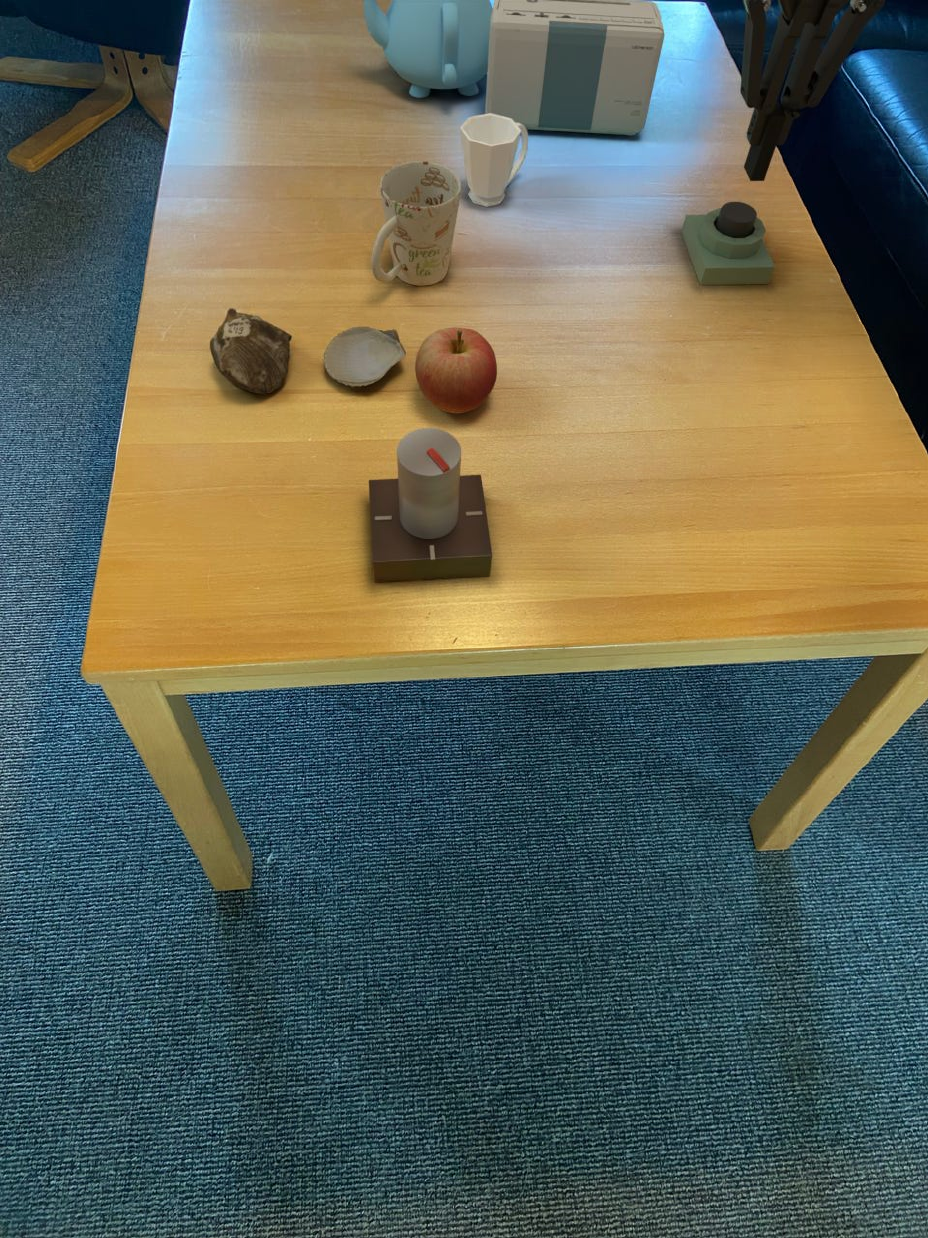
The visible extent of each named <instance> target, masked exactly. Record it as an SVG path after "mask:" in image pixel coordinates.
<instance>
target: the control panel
mask: <svg viewBox="0 0 928 1238" xmlns="http://www.w3.org/2000/svg"><path fill="white" fill-rule="evenodd" d="M368 494H369V496H368V497H369V515H370V516H369V518H370V538H371V557H372V558H371V560H372V571H373V572H372V573H373V581H374V583H389V582H405V581H422V580H423V581H425V580H439V579H441V580H442V579H457V578H459V579H461V578H474V577H489V576H491V571H492V562H493V549H492V541H491V535H490V529H489V528H490V527H489V521H488V514H487V507H486V499H485V492H484V486H483V480H482V475H481V474H467V475H466V474H465V475H460V489H459V508H458V521H457V524H456V526H455V527H454V529H453V530H452V531H451V532H450V533H448V534H447V535H445V536H443V537H440V538H436V539H422V538H418V537H415V536H413V535H411V534H410V533H409V532H407V531H406V530H405V529H404V527H403V526H402V524H401V521H400V511H399V488H398V478H384V479H383V478H380V479H368Z"/></svg>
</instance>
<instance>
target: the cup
mask: <svg viewBox="0 0 928 1238" xmlns="http://www.w3.org/2000/svg"><path fill="white" fill-rule="evenodd" d="M459 130H460V139H461V147H462V155H463V166H464V167H463V169H464V174H465V178H466V182H467V187H468V188H469V189H470V190H469V192H468V197H469V198H470V200H471V201H472V203H473V204H475V205H477V206H478V205H479V206H482V207H486V208H489V207H494V206H498V205H500V204H501V203H502V201H503V200H504V199H505V197H506V195H505V194H506V193H504V191H505V190H506V189H507V186H508V185H509V184H510V183H511V182H512V180H513V179H514V178H515V176H516V175H517V173H518V172H519V170H520V169H521V167H522V165H523V164H524V161H525V159H526V156H527V152H528V149H529V133H528V129H526V128H525V126H524V125H522V124H520V123H515V122H514V121H513V119H511V118H507V117H503V116H500V115H496V114H492V113H488V114H485V113H482V114H477V115H473V116H469V117H468V118H467V119H466V120H465V121H464V122H463V124H462V125H461V126H460V127H459ZM520 139H521V148H520V152H519V155H518V156H517V159H516V154H517V152H518V151H517V150H518V147H519V144H520ZM515 159H516V160H515Z"/></svg>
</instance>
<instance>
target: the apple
mask: <svg viewBox="0 0 928 1238" xmlns="http://www.w3.org/2000/svg"><path fill="white" fill-rule="evenodd" d="M414 372H415V377H416V378H415V379H416V382H417V384H418V387H419V390H420V391H421V393H422V395H423V396H424V398H426V399H427V400H428V402H429V403H431V405H433V406H434V407H435V408H437V409H438V410H440V411H443V412H447V413H451V414H463V413H468V412H470V411H474V410H475V409H476V408H478V407H479V406H481V405H482V404H483V403H484V401H485V400H486V399H487V398H488V397H489V395H490V394H491V393H492V391H493V390H494V387H495V385H496V381H497V378H498V377H497V376H498V364H497V358H496V354H495V351H494V348H493V346H492V345H491V344H490V343H489V341H488V340H487V338H485V337H484V336H483V335H482V334H481V333H479V332H478V330H477V331H476V330H474V329H471V328H466V327H465V328H464V327H456V326H455V327H448V328H447V327H446V328H442V329H437V330H436V331H434V332H432V333H431V334H429V335H428V336H427V337H426V338H425V339H424V340H423V341H422V343H421V344H420V346H419V348H418V351H417V353H416V357H415V362H414Z"/></svg>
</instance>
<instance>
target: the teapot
mask: <svg viewBox="0 0 928 1238" xmlns="http://www.w3.org/2000/svg"><path fill="white" fill-rule="evenodd" d="M362 2H363V13H364V20H365V24H366V28H367V31H368V33H369V35H370V36H371V38H372V40H373V41H374V42H375V43H376V44H377V45H378V46H379V47H381V49H382V51H383V54H384V57H385V59H386V60H387V62H388V63H389V66H391V67H392V69H393V70H394V71H395V72H396V73H397V74H398V76H400V77H401V78H402V79H403V80H405V81H407V82H409V83H410V84H411V86H410V88H409V91H408V93H409V95H410V96H412V97H414V98H419V99H420V98H426V97H428V96H429V95H430V94H431V89H434V90H452V89H453V90H454V89H457V90H458V92H459V93H460V94H461V95H463V96H469V97H470V96H475V95H478V93H479V92H480V90H479V88H478V85H477V82H480V81H481V80H482V79H483V78H484V77H485V76H487V73H488V55H489V38H490V20H491V15H492V10H493V5H492V3H491V0H391V1H390V4H389V6H388V8H387V11H386V14H385V13H384V12H383V11H382V9H381V8H380V6H379V4H378V0H362Z"/></svg>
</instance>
